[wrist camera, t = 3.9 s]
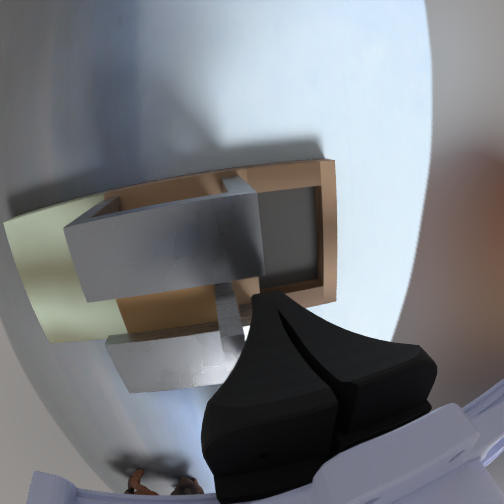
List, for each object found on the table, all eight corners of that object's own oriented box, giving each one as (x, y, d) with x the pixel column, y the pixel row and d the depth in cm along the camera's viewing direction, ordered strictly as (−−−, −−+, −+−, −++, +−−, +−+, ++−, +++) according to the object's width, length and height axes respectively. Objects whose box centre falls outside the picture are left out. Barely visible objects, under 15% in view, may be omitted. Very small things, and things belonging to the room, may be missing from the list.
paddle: (231, 299, 19) (255, 403, 11) (219, 301, 19) (236, 406, 11) (217, 208, 17) (235, 274, 9) (203, 210, 17) (208, 278, 9)
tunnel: (255, 314, 20) (274, 373, 15) (142, 331, 19) (129, 393, 14) (238, 174, 16) (257, 192, 11) (104, 198, 15) (62, 228, 10)
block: (218, 292, 19) (223, 333, 15) (144, 303, 18) (133, 345, 14) (205, 217, 17) (206, 242, 13) (124, 231, 16) (103, 260, 12)
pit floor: (316, 276, 21) (317, 278, 21) (256, 287, 21) (257, 289, 21) (312, 181, 19) (314, 182, 19) (245, 189, 18) (246, 190, 18)
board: (328, 291, 22) (335, 301, 21) (56, 332, 20) (49, 343, 18) (325, 158, 18) (334, 160, 17) (13, 216, 16) (3, 222, 14)
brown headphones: (177, 492, 33) (152, 524, 26) (138, 453, 34) (107, 484, 26) (231, 490, 29) (206, 533, 21) (186, 446, 30) (151, 488, 22)
